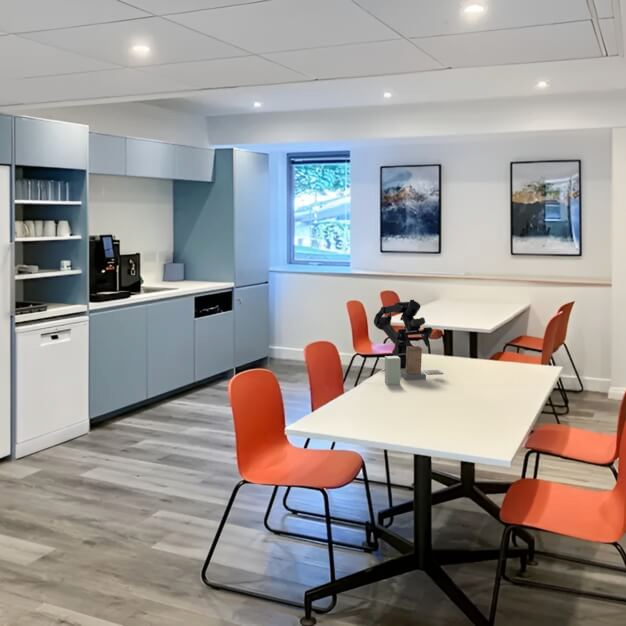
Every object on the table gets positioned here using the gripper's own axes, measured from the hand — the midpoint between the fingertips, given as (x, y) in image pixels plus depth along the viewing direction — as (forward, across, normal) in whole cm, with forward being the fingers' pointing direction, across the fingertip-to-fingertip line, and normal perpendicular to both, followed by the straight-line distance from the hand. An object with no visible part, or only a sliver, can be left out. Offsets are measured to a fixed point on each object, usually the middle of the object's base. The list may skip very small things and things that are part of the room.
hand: (419, 346), depth 372 cm
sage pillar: (+20, -22, -1) cm, 30 cm away
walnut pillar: (+13, -7, +3) cm, 15 cm away
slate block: (+15, -7, +5) cm, 17 cm away
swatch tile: (+10, +8, +9) cm, 16 cm away
